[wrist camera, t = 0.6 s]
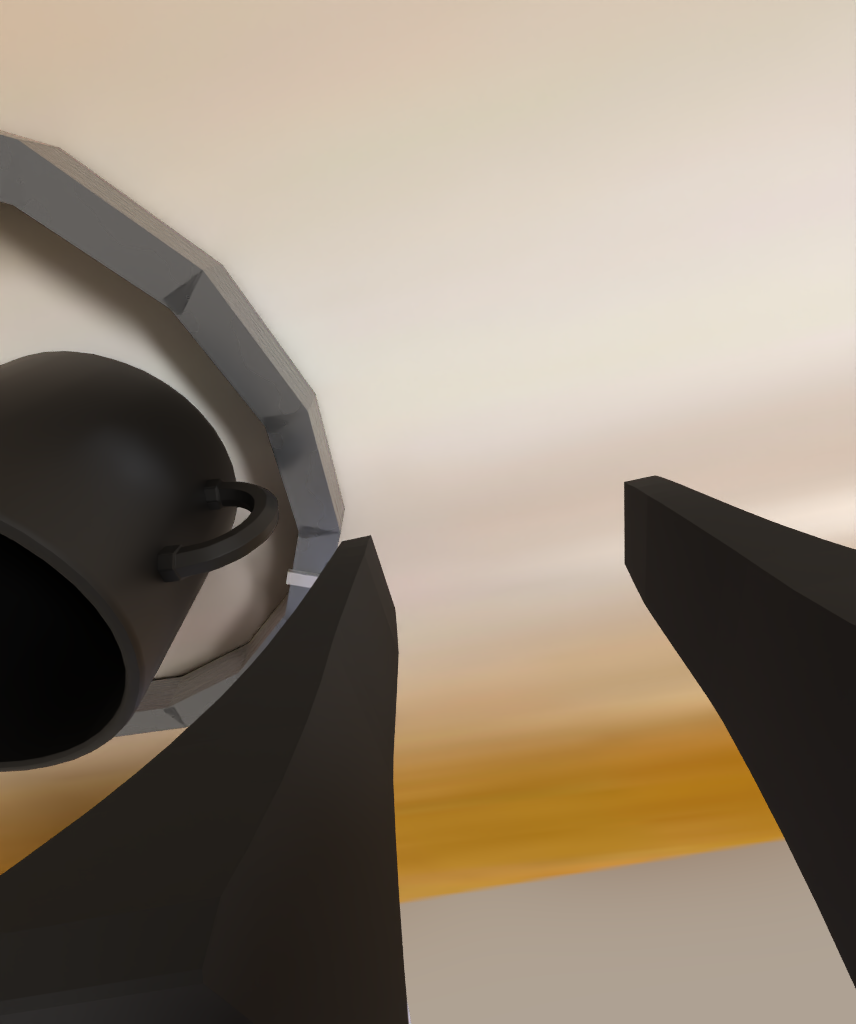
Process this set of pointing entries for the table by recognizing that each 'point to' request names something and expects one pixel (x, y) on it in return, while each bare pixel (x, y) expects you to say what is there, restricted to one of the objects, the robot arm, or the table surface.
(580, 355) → the table surface
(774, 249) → the table surface
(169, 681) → the ring
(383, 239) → the table surface
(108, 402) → the mug
